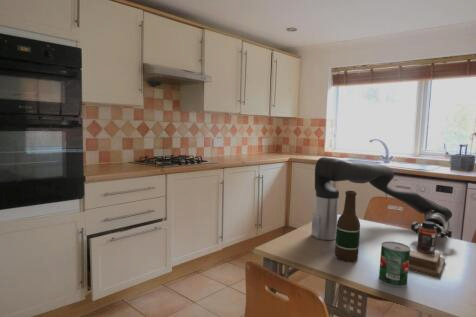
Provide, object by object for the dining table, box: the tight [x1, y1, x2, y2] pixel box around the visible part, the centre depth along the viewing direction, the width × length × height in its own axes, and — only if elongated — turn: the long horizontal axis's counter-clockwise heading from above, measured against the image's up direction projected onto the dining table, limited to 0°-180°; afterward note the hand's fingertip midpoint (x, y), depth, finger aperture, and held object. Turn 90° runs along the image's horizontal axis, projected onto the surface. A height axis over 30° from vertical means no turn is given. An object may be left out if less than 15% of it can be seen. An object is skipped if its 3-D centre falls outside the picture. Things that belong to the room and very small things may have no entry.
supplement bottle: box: [416, 220, 438, 255], centre depth 126 cm, size 6×6×11 cm
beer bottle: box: [334, 190, 361, 263], centre depth 116 cm, size 8×8×24 cm
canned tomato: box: [378, 241, 411, 288], centre depth 100 cm, size 8×8×11 cm
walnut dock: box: [408, 249, 446, 279], centre depth 114 cm, size 16×14×4 cm
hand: (428, 233), depth 129 cm, fingers open, 8 cm apart
